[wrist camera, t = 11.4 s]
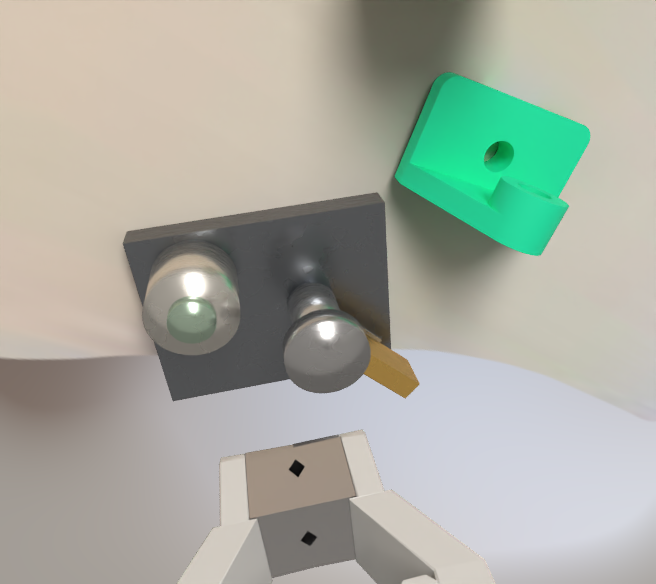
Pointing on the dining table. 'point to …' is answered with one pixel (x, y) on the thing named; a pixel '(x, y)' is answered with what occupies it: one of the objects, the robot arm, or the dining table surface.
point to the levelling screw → (336, 347)
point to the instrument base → (254, 286)
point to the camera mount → (493, 161)
